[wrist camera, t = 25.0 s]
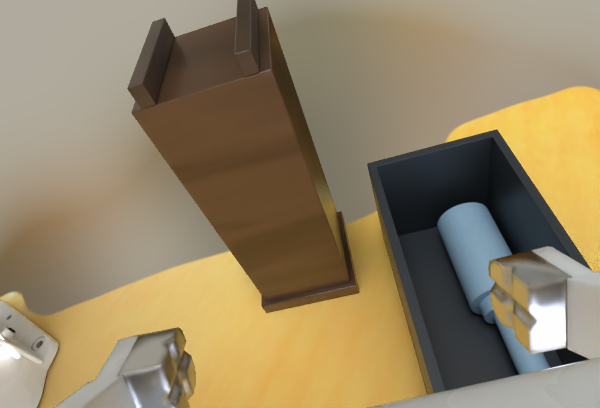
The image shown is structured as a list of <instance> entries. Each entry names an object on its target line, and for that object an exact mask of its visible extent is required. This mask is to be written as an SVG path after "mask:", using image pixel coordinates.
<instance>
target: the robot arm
mask: <svg viewBox="0 0 600 408" xmlns="http://www.w3.org/2000/svg"><path fill="white" fill-rule="evenodd" d="M488 271H489V276H490V277H491V278H492V279H493V280H494V281H495V283H494V285H493V287H492V288H491V290H490V297H491V304H492V307H493V309H494V312H495V314H496V316H497V318H498V319H499V321H500V322H501V323H502V324H503V325H504V326H505V327H508V328H511V329H514V332H515V338H516V339H517V340H518V341H519V342H520V343H521V344H522V345H523V346H524V347H525V348H526V349H527V350H528V351H529V352H530V353H531V354H536V353H541V352H546V351H552V350H557V349H562V348H567V347H568V350H571V351H573V352H575V353H577V354H579V355H581V356H584V357H586V358H588V359H589V360H585V361H580V362H575V363H571V364H566V365H562V366H557V367H552V368H548V369H543V370H539V371H534V372H529V373H525V374H520V375H516V376H511V377H506V378H502V379H497V380H493V381H488V382H484V383H479V384H474V385H470V386H465V387H461V388H456V389H451V390H447V391H442V392H438V393H433V394H428V395H424V396H419V397H415V398H410V399H405V400H401V401H396V402H392V403H387V404H382V405H378V406H373V407H369V408H600V271H599V272H594V271H592V270H590V269H589V268H587V267H585V266H583V265H582V264H580V263H578V262H577V261H575V260H573V259H572V258H570V257H568V256H567V255H565V254H563V253H561V252H560V251H558V250H556V249H555V248H553V247H548V246H546V247H542V248H538V249H534V250H530V251H526V252H522V253H518V254H513V255H509V256H505V257H501V258H497V259H493V260H490V261H489V266H488ZM185 344H186V339H185V337H184V334H183V331H182V330H181V329H180V328H179V327H178V328H172V329H167V330H162V331H157V332H152V333H147V334H142V335H136V336H132V337H128V338H123V339H121V340H119V341H118V342H117V344H116V346H115V347H114V349H113V351H112V352H111V354H110V356H109V357H108V359H107V361H106V362H105V364H104V366H103V368H102V369H101V371H100V373H99V374H98V376H97V378H96V379H95V381H92V382H88V383H87V384H85V385H84V386H83V387H81V388H80V389H79V390H77V391H76V392H75V393H73V394H72V395H71V396H69V397H68V398H66V399H65V400H64V401H62V402H61V403H60V404H58V405H57V406H56V407H54V408H190V406H189V403H188V399H189V398H190V397H191V396H192V395H193V394H194V390H195V385H196V373H195V367H194V363H193V360H192V357H191V355H189V354H188V353H187V352H185V351H184V347H185ZM58 347H59V344H58V342H57V341H56V340H55V339H54V338H53V337H51V336H50V335H49V334H47V333H46V332H45V331H43V330H42V329H41V328H40V327H38V326H37V325H36V324H34V323H33V322H32V321H30V320H29V319H28V318H26V317H25V316H24V315H23V314H21V313H20V312H19V311H17V310H16V309H15V308H13V307H12V306H11V305H9V304H8V303H6V302H4V301H2V300H0V408H37V407H38V404H39V401H40V399H41V396H42V392H43V388H44V383H45V378H46V374H47V371H48V369H49V367H50V365H51V363H52V361H53V359H54V357H55V355H56V353H57V350H58Z"/></svg>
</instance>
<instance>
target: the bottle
mask: <svg viewBox="0 0 600 408" xmlns="http://www.w3.org/2000/svg"><path fill="white" fill-rule="evenodd" d="M437 228H438V231H439V233H440V235H441V238H442V240H443V243H444V245H445V248H446V250H447V252H448V255H449V257H450V260H451V262H452V265H453V267H454V269H455V272H456V274H457V277H458V279H459V282H460V284H461V286H462V289H463V291H464V294H465V296H466V299H467V301H468V304H469V306H470V308H471V310H472V311H473V312H474V313H476V314H480V315H483V317H484V319H485V321H486V322H488V323H491V324H496V325H497V327H498V329H499V331H500V334H501V336H502V338H503V340H504V343H505V345H506V347H507V349H508V352H509V354H510V356H511V358H512V361H513V363H514V365H515V367H516V370H517V372H518V374H519V375H520V374H525V373H529V372H534V371H539V370H543V369H548V368H550V366H549V364H548V362H547V360H546V358H545V356H544V354H543V352H541V353H536V354H531V353H530V352H529V351H528V350H527V349H526V348H525V347H524V346H523V345H522V344H521V343H520V342H519V341H518V340H517V339H516V338H515V332H514V329H511V328H508V327H505V326H504V325H503V324H502V323H501V322H500V321H499V319H498V318H497V316H496V314H495V312H494V309H493V307H492V304H491V297H490V290H491V288H492V287H493V285H494V283H495V281H494V280H493V279H492V278H491V277H490V276H489V271H488V266H489V261H490V260H493V259H497V258H501V257H505V256H509V255H512V253H511V251H510V249H509V247H508V245H507V244H506V242H505V240H504V238H503V236H502V234H501V233H500V231H499V229H498V227H497V225H496V223H495V221H494V220H493V218H492V216H491V214H490V212H489V210H488V209H487V207H486V206H484V205H483V204H480V203H475V202H470V203H463V204H460V205H457V206H455V207H452V208H451V209H449V210H447V211H446V212H445V213H444V214H443V215H442V216H441V217H440V218H439V220H438V223H437Z"/></svg>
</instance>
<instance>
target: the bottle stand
mask: <svg viewBox="0 0 600 408" xmlns="http://www.w3.org/2000/svg"><path fill="white" fill-rule="evenodd" d="M128 90H129V92H130V93H131V95H132V96H133V98H134V99H135V104H134V107H133V110H132V114H133V116H134V117H135V118H136V120H137V121H138V123H139V124H140V125H141V127H142V128H143V130H144V131H145V132H146V134H147V135H148V137H149V138H150V139H151V141H152V142H153V144H154V145H155V146H156V148H157V149H158V150H159V152H160V153H161V155H162V156H163V158H164V159H165V160H166V162H167V163H168V164H169V166H170V167H171V169H172V170H173V172H174V173H175V174H176V175H177V177H178V178H179V180H180V181H181V183H182V184H183V186H184V187H185V188H186V190H187V191H188V192H189V194H190V195H191V197H192V198H193V199H194V201H195V202H196V204H197V205H198V206H199V208H200V209H201V210H202V212H203V213H204V215H205V216H206V218H207V219H208V220H209V222H210V223H211V225H212V226H213V227H214V229H215V230H216V232H217V233H218V234H219V236H220V237H221V239H222V240H223V241H224V243H225V244H226V245H227V247H228V248H229V250H230V251H231V253H232V254H233V255H234V257H235V258H236V259H237V261H238V262H239V264H240V265H241V266H242V268H243V269H244V271H245V272H246V273H247V275H248V276H249V278H250V279H251V280H252V282H253V283H254V285H255V286H256V287H257V289H258V290H259V292H260V293H261V294H262V307H263V309H264V310H265V311H266V313H268V312H272V311H277V310H282V309H286V308H291V307H295V306H300V305H305V304H309V303H314V302H318V301H323V300H328V299H332V298H337V297H342V296H346V295H351V294H355V293H359V290H358V286H357V281H356V276H355V271H354V266H353V261H352V256H351V251H350V246H349V241H348V237H347V232H346V227H345V222H344V218H343V215H342V212H336V209H335V206H334V203H333V200H332V197H331V194H330V191H329V188H328V185H327V182H326V179H325V176H324V173H323V170H322V167H321V164H320V161H319V158H318V155H317V153H316V150H315V147H314V143H313V141H312V137H311V134H310V131H309V129H308V126H307V123H306V120H305V117H304V114H303V111H302V108H301V105H300V102H299V99H298V96H297V93H296V90H295V87H294V84H293V81H292V78H291V75H290V72H289V69H288V66H287V63H286V60H285V57H284V54H283V51H282V49H281V45H280V42H279V40H278V36H277V33H276V30H275V28H274V24H273V22H272V19H271V16H270V13H269V10H268V7H264V8H261V9H258V7H257V5H256V2H255V0H238V1H237V16H236V17H234V18H231V19H229V20H225V21H222V22H219V23H216V24H213V25H210V26H207V27H204V28H201V29H198V30H196V31H192V32H189V33H187V34H183V35H180V36H177V37H175V36H174V34H173V33H172V31H171V29H170V27H169V25H168V23H167V22H166V19H165V18H163V19H160V20H157V21H154V22H152V25H151V28H150V30H149V33H148V36H147V38H146V41H145V43H144V46H143V49H142V51H141V54H140V57H139V59H138V62H137V65H136V67H135V70H134V72H133V75H132V78H131V80H130V83H129V86H128Z"/></svg>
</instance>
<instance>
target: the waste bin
mask: <svg viewBox="0 0 600 408" xmlns="http://www.w3.org/2000/svg"><path fill="white" fill-rule="evenodd" d="M367 165H368V170H369V174H370V178H371V183H372V188H373V192H374V197H375V201H376V206H377V210H378V215H379V220H380V224H381V229H382V233H383V238H384V241H385V245H386V248H387V252H388V256H389V259H390V263H391V266H392V270H393V273H394V277H395V281H396V284H397V288H398V291H399V295H400V299H401V302H402V306H403V309H404V313H405V316H406V320H407V324H408V327H409V331H410V334H411V338H412V341H413V345H414V349H415V352H416V356H417V359H418V363H419V366H420V370H421V374H422V377H423V381H424V384H425V388H426V392H427V395H428V394H433V393H438V392H442V391H447V390H451V389H456V388H461V387H465V386H470V385H474V384H479V383H484V382H488V381H493V380H497V379H502V378H506V377H511V376H516V375H519V374H518V372H517V370H516V367H515V365H514V363H513V361H512V358H511V356H510V354H509V352H508V349H507V347H506V345H505V343H504V340H503V338H502V336H501V334H500V331H499V329H498V327H497V325H496V324H491V323H488V322H486V321H485V319H484V317H483V315H480V314H476V313H474V312H473V311H472V310H471V308H470V306H469V304H468V301H467V299H466V296H465V294H464V291H463V289H462V286H461V284H460V282H459V279H458V277H457V274H456V272H455V269H454V267H453V265H452V262H451V260H450V257H449V255H448V252H447V250H446V248H445V245H444V243H443V240H442V238H441V235H440V233H439V231H438V228H437V223H438V220H439V218H440V217H441V216H442V215H443V214H444V213H445V212H446V211H447V210H449V209H451V208H452V207H455V206H457V205H460V204H463V203H470V202H475V203H480V204H483V205H484V206H486V207H487V209H488V210H489V212H490V214H491V216H492V218H493V220H494V221H495V223H496V225H497V227H498V229H499V231H500V233H501V234H502V236H503V238H504V240H505V242H506V244H507V245H508V247H509V249H510V251H511V253H512V255H513V254H518V253H522V252H526V251H530V250H534V249H538V248H542V247H546V246H548V247H553V248H555V249H556V250H558V251H560V252H561V253H563V254H565V255H567V256H568V257H570V258H572V259H573V260H575V261H577V262H578V263H580V264H582V265H583V266H585V267H587V268H589V269H590V270H591V268H590V267H589V265H588V264H587V262H586V261H585V259H584V258H583V256H582V255H581V253H580V252H579V250H578V249H577V248H576V246H575V245H574V243H573V242H572V240H571V239H570V237H569V236H568V234H567V233H566V231H565V230H564V228H563V227H562V225H561V224H560V222H559V221H558V219H557V218H556V216H555V215H554V213H553V212H552V210H551V209H550V207H549V206H548V204H547V203H546V201H545V200H544V198H543V197H542V195H541V194H540V192H539V191H538V189H537V188H536V187H535V185H534V184H533V182H532V181H531V179H530V178H529V176H528V175H527V173H526V172H525V170H524V169H523V167H522V166H521V164H520V163H519V161H518V160H517V158H516V157H515V155H514V154H513V152H512V151H511V149H510V148H509V146H508V145H507V143H506V142H505V140H504V139H503V137H502V136H501V135H500V133H499V132H498V130H493V131H489V132H485V133H482V134H478V135H474V136H470V137H466V138H463V139H459V140H455V141H451V142H447V143H444V144H440V145H436V146H432V147H428V148H425V149H421V150H417V151H414V152H410V153H406V154H402V155H398V156H395V157H391V158H387V159H383V160H379V161H375V162H372V163H368V164H367ZM543 354H544V356H545V358H546V360H547V362H548V364H549V366H550V368H552V367H557V366H562V365H566V364H571V363H575V362H580V361H585V360H589V359H588V358H586V357H584V356H581V355H579V354H577V353H575V352H573V351H571V350H568V347H567V348H562V349H557V350H552V351H546V352H543Z"/></svg>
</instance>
